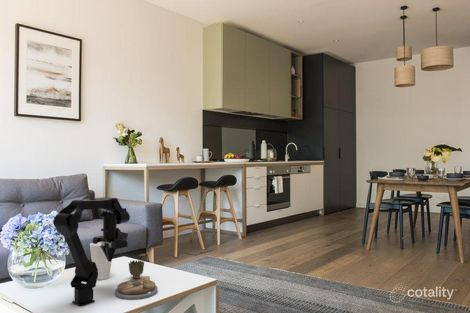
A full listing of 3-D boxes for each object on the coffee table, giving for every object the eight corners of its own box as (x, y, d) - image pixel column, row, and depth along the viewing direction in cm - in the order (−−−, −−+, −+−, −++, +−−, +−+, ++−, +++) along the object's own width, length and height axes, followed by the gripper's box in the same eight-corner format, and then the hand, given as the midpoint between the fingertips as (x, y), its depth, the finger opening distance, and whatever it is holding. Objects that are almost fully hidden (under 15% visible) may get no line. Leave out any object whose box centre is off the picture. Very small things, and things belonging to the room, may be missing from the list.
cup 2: (140, 281, 192) (140, 264, 192) (125, 280, 194) (125, 263, 194) (146, 276, 200) (146, 260, 200) (132, 275, 201) (132, 259, 201)
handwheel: (109, 289, 174) (109, 275, 174) (138, 280, 187) (138, 267, 187) (134, 297, 165) (134, 282, 165) (162, 287, 178) (162, 273, 178)
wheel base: (132, 303, 163) (132, 298, 163) (106, 293, 174) (106, 289, 174) (166, 291, 177) (166, 287, 177) (140, 283, 188) (140, 279, 188)
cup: (108, 281, 192) (108, 245, 192) (87, 281, 192) (87, 245, 192) (115, 274, 203) (115, 240, 203) (95, 274, 203) (95, 240, 203)
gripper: (138, 225, 179) (138, 261, 179) (113, 221, 190) (113, 254, 190) (116, 229, 170) (116, 266, 170) (91, 224, 182) (91, 259, 182)
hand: (109, 261), depth 178 cm, fingers closed
